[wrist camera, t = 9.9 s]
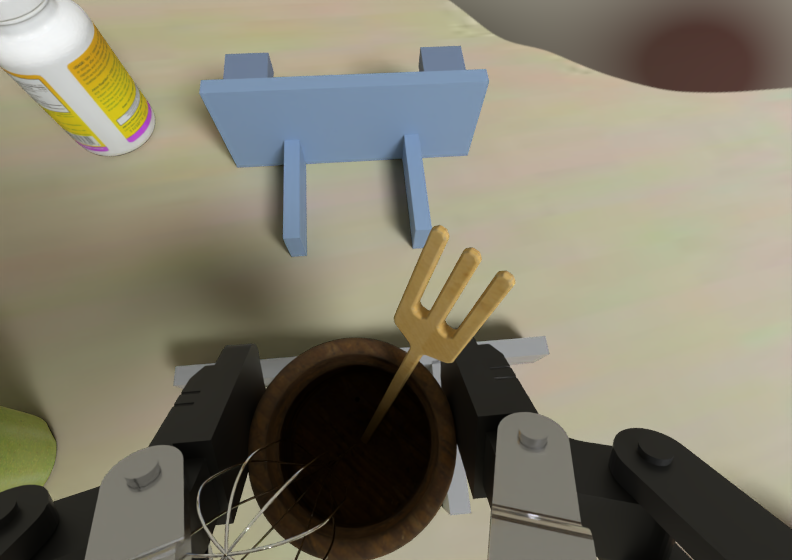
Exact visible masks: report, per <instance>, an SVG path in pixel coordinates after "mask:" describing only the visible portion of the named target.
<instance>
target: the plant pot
mask: <svg viewBox="0 0 792 560" xmlns="http://www.w3.org/2000/svg"><path fill="white" fill-rule="evenodd" d="M55 458H56V441H55V439H54V438H53V436H52V434H51V432H50V430H49V428H48V426H47V423H46V422H45V421H44V420H42V419H41V418H39V417H37V416H35V415H32V414H28V413H24V412H21V411H17V410H14V409H10V408H6V407H3V406H0V492H2V491H5V490H7V489H11V488H14V487H18V486H22V485H40V486H42V487H43V485H44V484H45V482H46V481H47V479H48V477H49V475H50V473H51V471H52V468H53V466H54V462H55Z"/></svg>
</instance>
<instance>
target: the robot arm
mask: <svg viewBox="0 0 792 560" xmlns="http://www.w3.org/2000/svg"><path fill="white" fill-rule="evenodd" d="M456 329H458V328H456ZM440 378H441V388H442V390H443V392H444V394H445V396H446V398H447V400H448V402H449V405H450V408H451V411H452V414H453V418H454V423H455V428H456V437H457V446H458V449H459V453H460V456H461V459H462V463H463V466H464V469H465V473H466V476H467V479H468V483H469V486H470V489H471V493H472V496H473V499H476V498H486V497H487V499H488V502H489V505H490V508H491V518H490V531H489V545H488V559H487V560H597V559H596V557H598V559H599V560H692V559H691V558H690V557H689V556H688V555H687V554H686V553H685V552H684V551H683V550H682V549H681V548H680V547H679V546H678V545H677V544H676V543H675V541H676V542H677V543H678V544H679V545H680V546H681V547H682V548H683V549H684V550H685V551H686V552H687V553H688V554H689V555H690V556H691V557H692V558H693V559H694V560H792V529H790V528H789V527H788V526H787V525H785V524H784V523H783V522H781V521H780V520H779V519H778V518H776V517H775V516H774V515H772V514H771V513H770V512H768V511H767V510H766V509H765V508H763V507H762V506H761V505H759V504H758V503H757V502H756V501H754V500H753V499H752V498H750V497H749V496H748V495H746V494H745V493H744V492H743V491H741V490H740V489H739V488H737V487H736V486H735V485H733V484H732V483H731V482H730V481H728V480H727V479H726V478H724V477H723V476H722V475H721V474H719V473H718V472H717V471H715V470H714V469H713V468H711V467H710V466H709V465H708V464H706V463H705V462H704V461H702V460H701V459H700V458H699V457H697V456H696V455H695V454H693V453H692V452H691V451H689V450H688V449H687V448H686V447H684V446H683V445H682V444H680V443H679V442H677V441H676V440H674V439H672V438H671V437H669V436H666V435H664V434H662V433H659V432H656V431H653V430H649V429H643V428H630V429H625V430H623V431H621V432H619V433H618V434H617V435H616V436H615V438H614V442H613V446H609V445H602V444H596V443H589V442H583V441H578V440H574V439H571V438H568V436H567V434H566V432H565V431H564V429H563V428H562V427H561V426H560V425H559V424H557V423H556V422H555V421H553V420H551V419H550V418H548V417H545V416H543V415H540V414H538V412H537V410H536V409H535V407H534V405H533V404H532V402H531V400H530V399H529V397H528V395H527V394H526V392H525V390H524V389H523V387H522V385H521V384H520V382H519V380H518V378H516V375H515V373H514V372H513V370H512V368H510V365H509V363H508V362H507V360H506V358H505V357H504V355H503V353H501V352H500V351H498V350H497V349H496V348H494V347H493V346H492V345H490V344H480V345H478V344H477V342H476V340H475V339H474V337H472V339H471V340H470V341H469V343H468V344H467V345H466V346H465V348H464V349H463V350H462V351H461V353H460V354H459V355H458V356H457V358H456V359H455V360H454V361H453V362H452V363H445V362H442V361H441V370H440ZM265 390H266V389H265V384H264V378H263V373H262V368H261V363H260V358H259V352H258V348H257V346H256V344H254V343H253V344H240V345H227V346H225V347H224V349H223V350H222V352H221V354H220V356H219V358H218V360H217V362H216V363H215V365H207V366H204V367H203V368H202V369H201V370H199V371H198V372H197V373H196V374H194V375H193V376H192V377H191V378H190V379H189V381H188V382H187V384H186V386H185V387H184V389H183V390H182V392H181V393H182V394H181V395H179V397H178V399H177V400H176V402H175V404H174V407H172V409H171V410H170V412H169V414H168V415H167V417H166V419H165V420H164V422H163V424H162V425H161V427H160V429H159V430H158V432H157V433H156V435H155V437H154V438H153V440H152V442H151V443H150V445H149V447H147V448H144V449H141V450H139V451H137V452H134V453H132V454H130V455H129V456H127V457H125V458H124V459H122V460H121V461H119V462H118V463H117V464H116V465H115V466H113V467H112V469H111V470H110V471H109V472H108V473H107V474H106V476H105V477H104V479H103V480H102V482H101V485H100V486H99V487H96V488H93V489H90V490H87V491H84V492H81V493H78V494H75V495H72V496H69V497H66V498H63V499H60V500H57V501H54V502H53V501H52V499H51V497H50V495H49V493H48V491H47V490H46V489H45V488H44V487H42V486H40V485H22V486H18V487H14V488H11V489H7V490H5V491H2V492H0V560H213V558H194V557H188V556H187V552H189V553H194V554H213V553H212V548H211V545H210V540H211V539H210V538H209V536H208V535H207V533H206V532H205V530H204V528H202V529H200V530H199V531H197V532H196V533H194V534H193V535H192V536H191V532H192V531H194V530H195V529H197V528H198V527H200V526H201V525H202V524H201V522H200V519H199V516H198V512H197V504H196V501H197V494H198V491H199V488H200V486H201V485H202V483H203V482H204V481H205V480H207V479H208V478H210V477H211V476H213V475H215V474H217V473H219V472H221V471H223V470H225V469H227V468H229V467H231V466H233V465H235V464H238V463H241V462H245V461H246V459H247V458H248V440H249V431H250V426H251V422H252V419H253V416H254V413H255V410H256V408H257V405H258V403H259V401H260V399H261V397H262V395H263V394H264V392H265ZM242 466H243V465H240V466H237V467H235V468H232V469H230V470H228V471H226V472H224V473H222V474H221V475H219V476H217V477H215V478H213V479H212V480H210V481H209V482H207V483H206V484H205V485H204V487H203V489H202V491H201V495H200V509H201V513H202V516H203V519H204V521H205V523H206V522H207V521H209V520H210V519H212V518H213V517H215V516H216V515H218V514H220V513H221V512H223V511H225V510H227V509H228V505H229V501H230V496H231V493H232V489H233V486H234V483H235V480H236V478H237V476H238V473H239V471H240V469H241V467H242ZM247 474H248V463H247V465H246V466H245V468H244V470H243V472H242V474H241V476H240V479H239V481H238V484H237V487H236V490H235V494H234V498H233V502H232V506H234V505H236V504H238V503H239V502H240V499H241V495H242V492H243V488H244V485H245V481H246V478H247ZM237 509H238V506H237V507H235V508H233V509H231V513H230V521H229V524H231V523H234V519H235V516H236V512H237ZM226 518H227V512H226V513H224V514H223V515H221V516H220V517H218V518H216V519H215V520H213V521H212V522H210V523H209V524H207V527H208V529H209V530H210V532H211V534H213V531H214V528H215V525H222V524H226Z"/></svg>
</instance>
